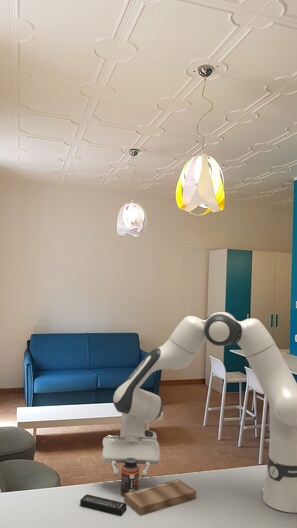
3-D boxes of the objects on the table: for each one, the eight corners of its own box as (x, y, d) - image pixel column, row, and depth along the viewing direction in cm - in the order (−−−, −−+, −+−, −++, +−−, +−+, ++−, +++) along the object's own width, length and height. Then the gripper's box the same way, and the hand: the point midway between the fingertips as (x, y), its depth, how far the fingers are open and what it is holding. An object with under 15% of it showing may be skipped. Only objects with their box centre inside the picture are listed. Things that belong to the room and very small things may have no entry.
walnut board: (178, 486, 159) (178, 478, 159) (196, 498, 151) (196, 490, 151) (124, 501, 147) (124, 493, 148) (140, 515, 139) (140, 507, 139)
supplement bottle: (135, 499, 149) (137, 464, 149) (118, 496, 150) (119, 462, 151) (139, 490, 155) (141, 457, 155) (123, 488, 156) (124, 455, 156)
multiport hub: (86, 500, 147) (86, 493, 148) (126, 510, 142) (127, 503, 142) (79, 507, 143) (79, 499, 143) (121, 517, 138) (121, 510, 138)
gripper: (103, 430, 160) (98, 470, 150) (160, 433, 160) (160, 473, 150) (103, 439, 164) (99, 478, 154) (159, 441, 164) (159, 480, 154)
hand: (130, 475), depth 152 cm, fingers open, 8 cm apart
